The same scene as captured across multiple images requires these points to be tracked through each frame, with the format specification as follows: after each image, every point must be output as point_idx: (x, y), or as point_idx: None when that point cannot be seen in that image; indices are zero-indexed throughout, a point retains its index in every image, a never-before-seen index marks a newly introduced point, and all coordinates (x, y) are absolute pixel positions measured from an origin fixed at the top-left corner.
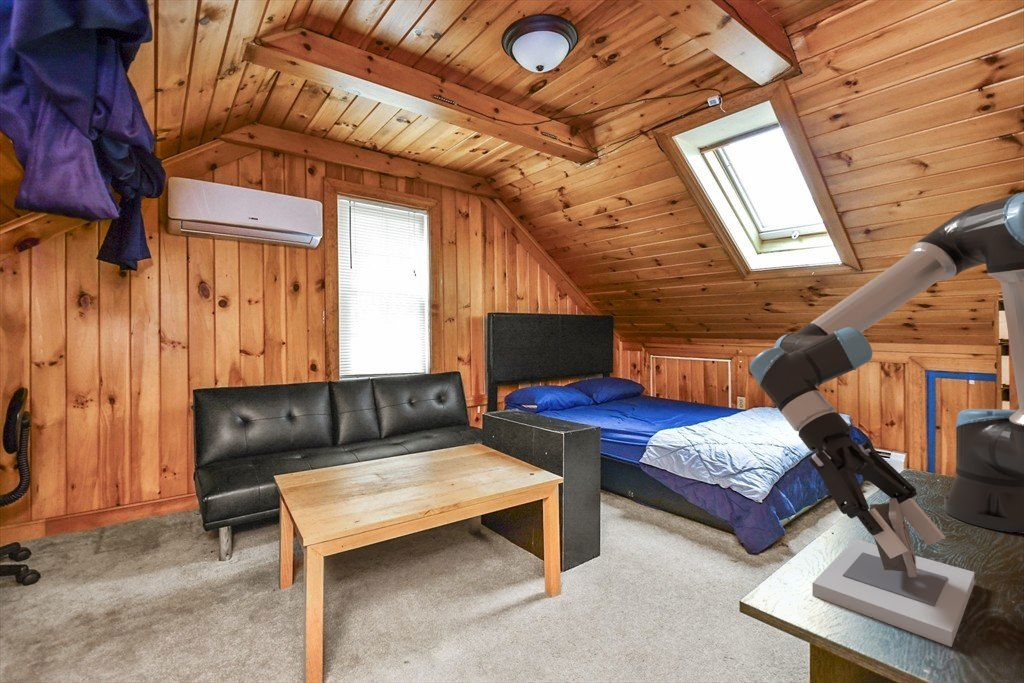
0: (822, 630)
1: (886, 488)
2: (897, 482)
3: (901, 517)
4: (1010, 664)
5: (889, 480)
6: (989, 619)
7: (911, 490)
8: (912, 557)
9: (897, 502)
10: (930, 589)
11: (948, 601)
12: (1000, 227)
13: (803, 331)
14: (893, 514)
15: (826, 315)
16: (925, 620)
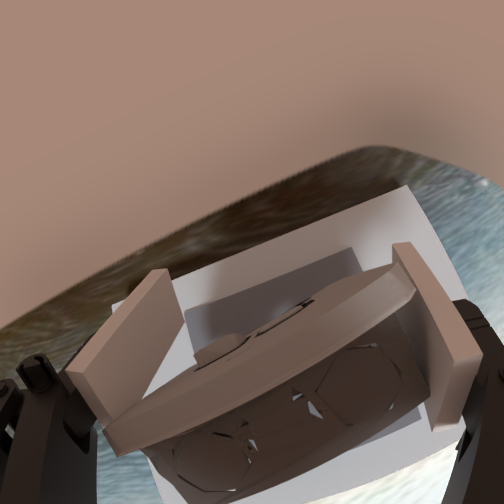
0: None
1: (77, 484)
2: (15, 441)
3: (219, 361)
4: (355, 152)
5: (38, 476)
6: (242, 230)
7: (15, 390)
8: (309, 298)
9: (135, 411)
10: (285, 292)
11: (298, 251)
12: None
13: None
14: (395, 280)
15: None
16: (420, 221)
